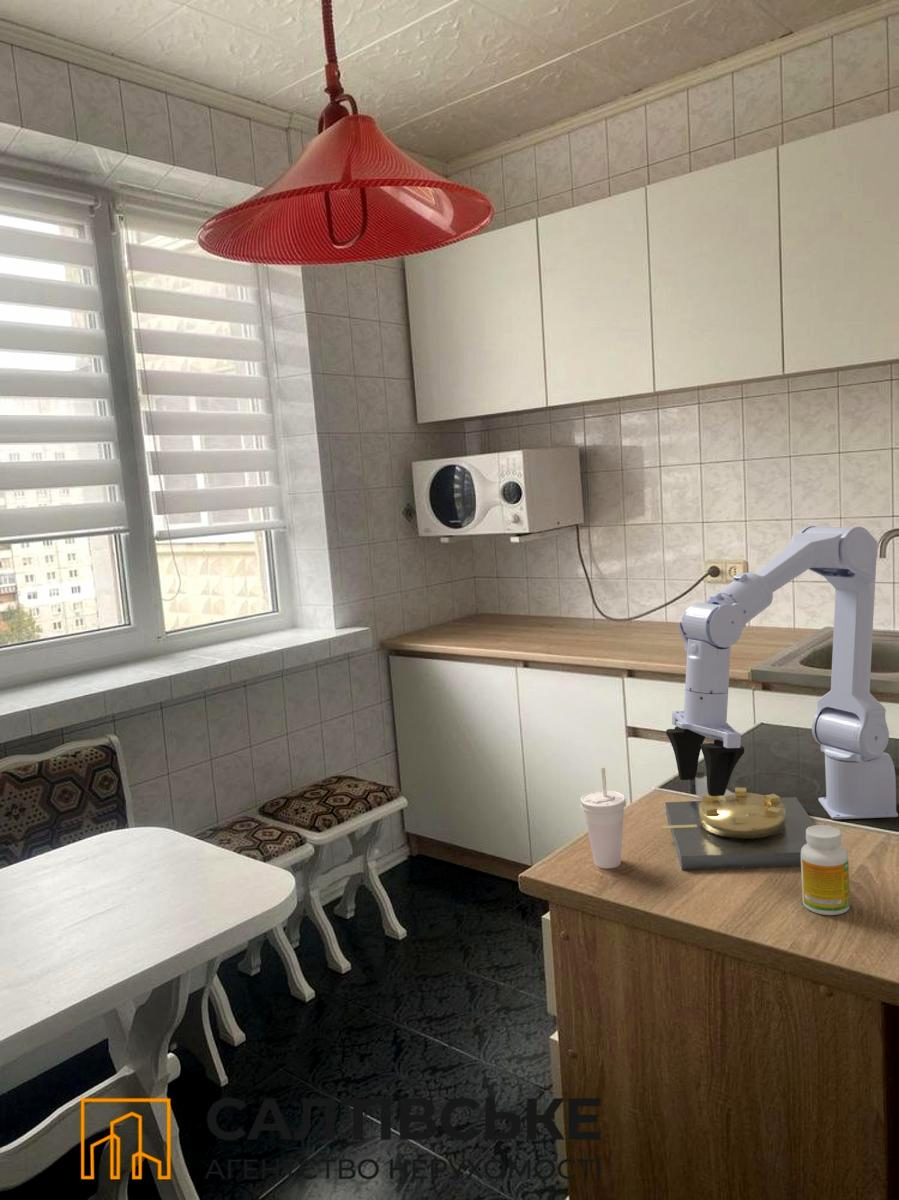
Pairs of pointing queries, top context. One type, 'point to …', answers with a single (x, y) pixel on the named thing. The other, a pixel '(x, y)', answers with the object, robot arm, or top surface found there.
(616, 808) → the smoothie
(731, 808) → the brass crank disc
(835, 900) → the supplement bottle
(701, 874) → the top surface
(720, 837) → the plate
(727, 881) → the top surface
